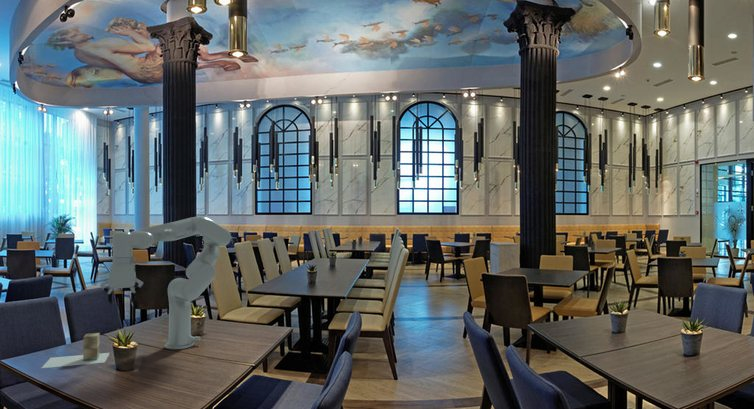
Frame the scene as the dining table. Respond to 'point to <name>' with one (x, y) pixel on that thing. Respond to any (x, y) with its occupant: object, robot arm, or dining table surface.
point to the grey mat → (73, 360)
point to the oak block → (91, 347)
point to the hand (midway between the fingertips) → (121, 302)
